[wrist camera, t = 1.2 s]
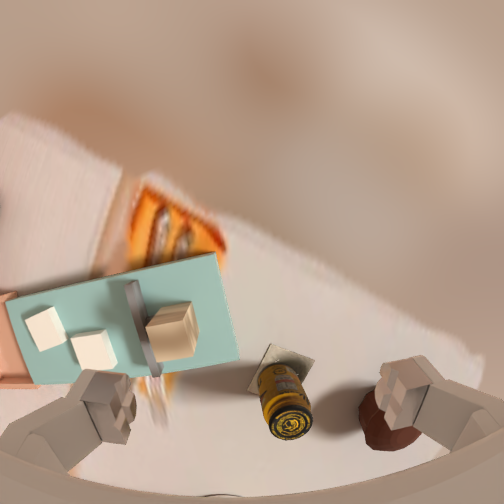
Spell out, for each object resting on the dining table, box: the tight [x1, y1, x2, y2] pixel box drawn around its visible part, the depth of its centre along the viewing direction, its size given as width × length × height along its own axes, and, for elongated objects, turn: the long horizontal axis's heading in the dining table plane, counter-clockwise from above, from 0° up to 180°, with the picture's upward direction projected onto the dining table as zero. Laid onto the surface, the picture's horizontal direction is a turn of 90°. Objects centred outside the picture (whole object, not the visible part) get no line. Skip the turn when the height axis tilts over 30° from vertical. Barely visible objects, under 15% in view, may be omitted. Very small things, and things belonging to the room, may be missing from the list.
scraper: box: [124, 280, 200, 377], centre depth 33 cm, size 12×7×8 cm, turn 12°
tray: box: [0, 291, 41, 389], centre depth 38 cm, size 16×12×4 cm
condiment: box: [247, 344, 315, 440], centre depth 37 cm, size 7×8×12 cm
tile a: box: [70, 329, 118, 371], centre depth 36 cm, size 5×5×2 cm
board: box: [5, 252, 240, 385], centre depth 39 cm, size 14×34×4 cm, turn 102°
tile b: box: [25, 306, 69, 352], centre depth 35 cm, size 5×5×2 cm
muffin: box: [358, 389, 422, 451], centre depth 40 cm, size 12×11×10 cm
